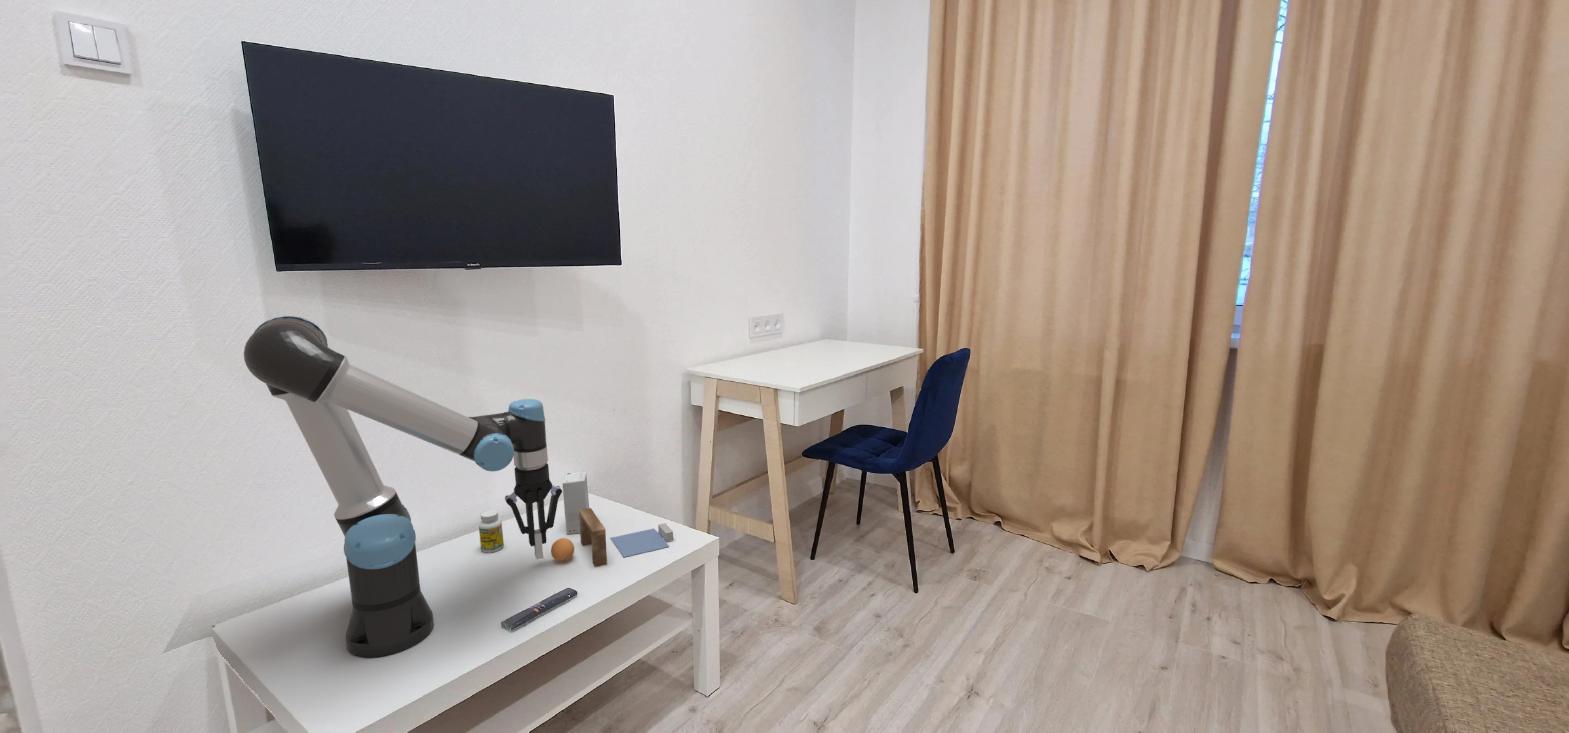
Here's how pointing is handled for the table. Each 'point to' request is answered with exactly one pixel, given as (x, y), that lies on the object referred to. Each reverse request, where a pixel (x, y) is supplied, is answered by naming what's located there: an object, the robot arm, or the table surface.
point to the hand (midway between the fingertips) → (539, 556)
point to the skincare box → (574, 499)
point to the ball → (562, 549)
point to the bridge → (593, 536)
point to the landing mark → (639, 542)
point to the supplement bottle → (490, 532)
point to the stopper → (665, 532)
